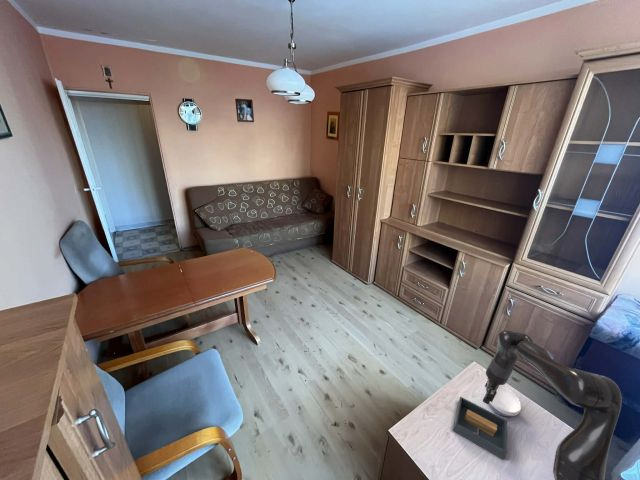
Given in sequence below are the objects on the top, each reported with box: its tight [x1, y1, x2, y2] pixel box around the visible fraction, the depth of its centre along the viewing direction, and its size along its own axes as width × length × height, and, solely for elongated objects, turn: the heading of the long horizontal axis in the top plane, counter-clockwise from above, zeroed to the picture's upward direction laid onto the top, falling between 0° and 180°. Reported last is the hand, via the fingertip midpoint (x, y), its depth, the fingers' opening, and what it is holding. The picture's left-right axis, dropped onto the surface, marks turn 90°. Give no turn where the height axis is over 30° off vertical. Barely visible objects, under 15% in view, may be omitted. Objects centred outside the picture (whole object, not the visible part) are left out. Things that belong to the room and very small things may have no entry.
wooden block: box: [464, 410, 497, 436], centre depth 120 cm, size 7×12×5 cm, turn 57°
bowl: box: [488, 385, 522, 417], centre depth 130 cm, size 14×14×8 cm
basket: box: [452, 396, 508, 460], centre depth 121 cm, size 16×20×6 cm
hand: (486, 394), depth 116 cm, fingers open, 8 cm apart
